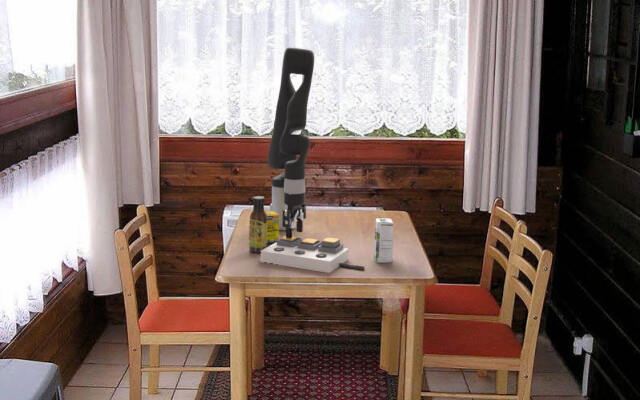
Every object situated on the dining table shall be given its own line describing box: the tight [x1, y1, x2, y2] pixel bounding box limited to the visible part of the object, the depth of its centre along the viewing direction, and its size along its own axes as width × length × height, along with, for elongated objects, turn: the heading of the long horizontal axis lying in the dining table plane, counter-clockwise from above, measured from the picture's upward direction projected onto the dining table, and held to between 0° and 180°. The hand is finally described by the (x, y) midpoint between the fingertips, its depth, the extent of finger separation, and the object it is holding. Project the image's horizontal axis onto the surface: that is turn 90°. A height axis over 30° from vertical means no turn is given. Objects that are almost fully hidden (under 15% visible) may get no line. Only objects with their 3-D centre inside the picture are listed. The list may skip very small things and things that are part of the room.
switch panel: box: [260, 235, 366, 274], centre depth 273 cm, size 35×16×6 cm, turn 66°
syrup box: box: [373, 217, 395, 264], centre depth 276 cm, size 6×6×14 cm
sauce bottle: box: [248, 195, 268, 253], centre depth 284 cm, size 6×6×20 cm
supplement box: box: [265, 211, 280, 245], centre depth 296 cm, size 6×6×11 cm
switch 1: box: [279, 235, 299, 242], centre depth 281 cm, size 5×5×2 cm
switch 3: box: [321, 237, 341, 248], centre depth 274 cm, size 5×5×2 cm
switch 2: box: [301, 237, 320, 246], centre depth 278 cm, size 5×5×2 cm
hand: (294, 234), depth 284 cm, fingers open, 8 cm apart
